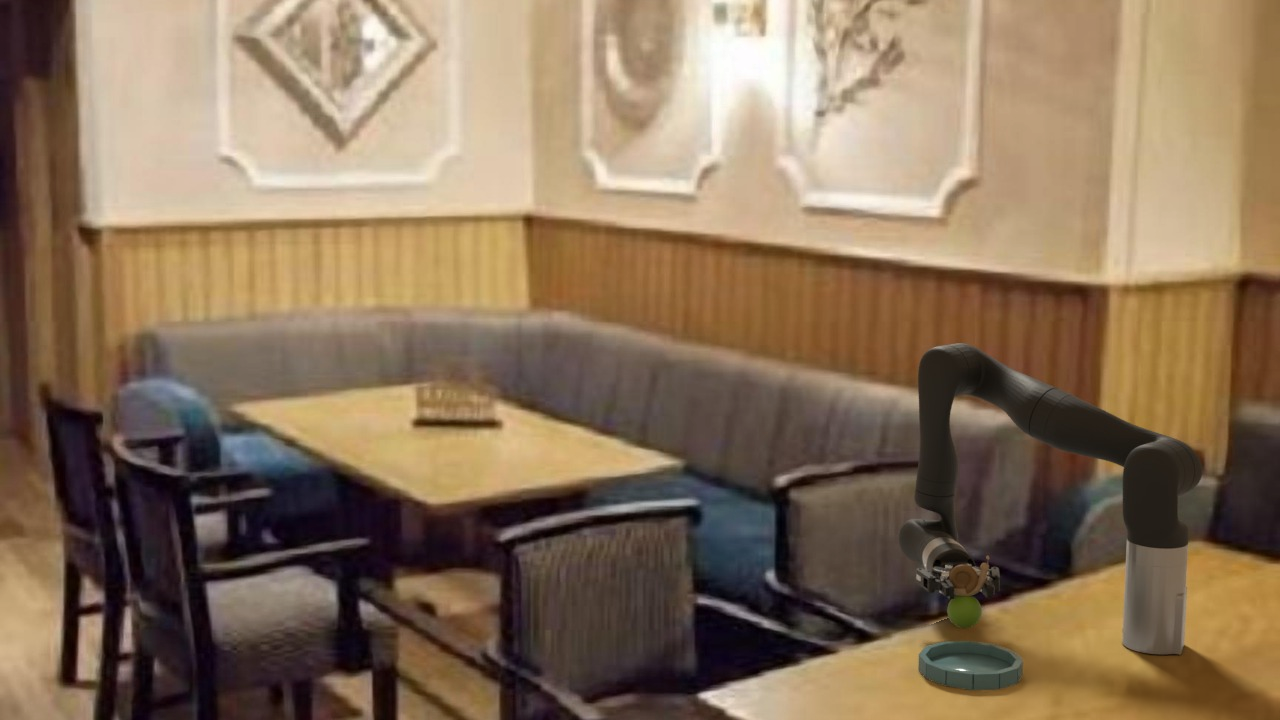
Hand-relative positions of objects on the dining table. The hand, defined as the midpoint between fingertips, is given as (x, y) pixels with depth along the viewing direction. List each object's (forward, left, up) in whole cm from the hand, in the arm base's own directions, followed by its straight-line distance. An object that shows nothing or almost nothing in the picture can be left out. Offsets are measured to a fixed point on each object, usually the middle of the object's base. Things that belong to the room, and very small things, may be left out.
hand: (970, 592), depth 241 cm
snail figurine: (+1, -2, -7) cm, 7 cm away
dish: (-3, +12, -9) cm, 15 cm away
